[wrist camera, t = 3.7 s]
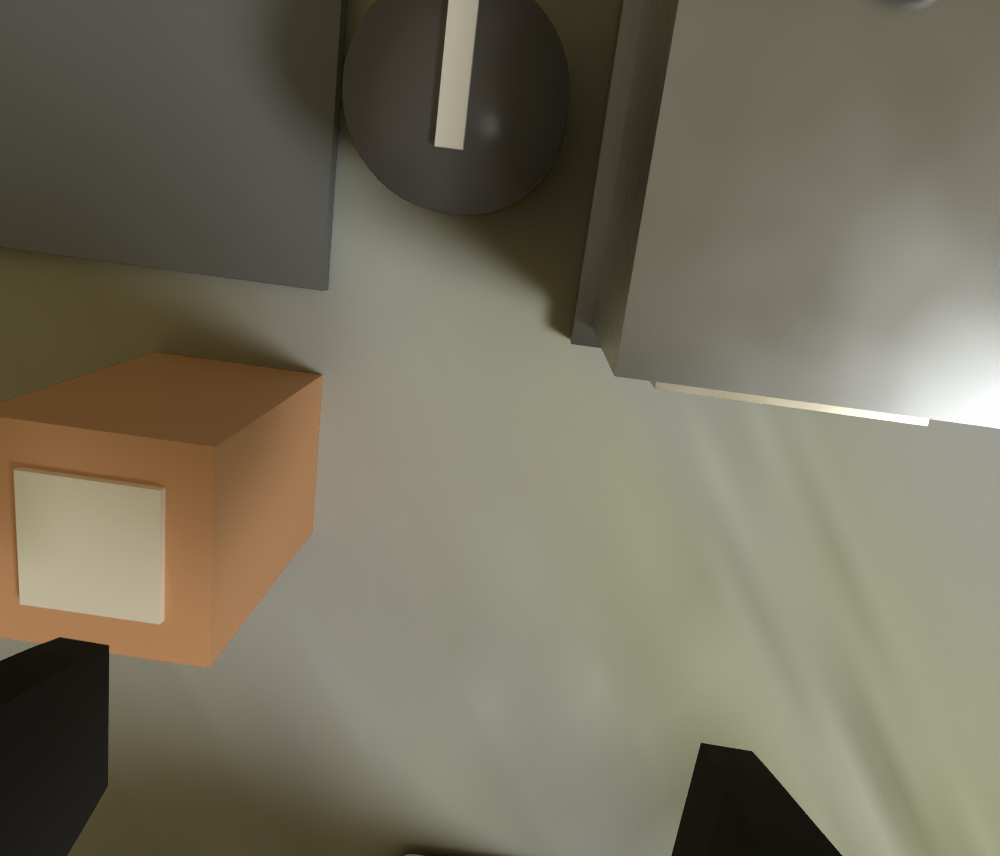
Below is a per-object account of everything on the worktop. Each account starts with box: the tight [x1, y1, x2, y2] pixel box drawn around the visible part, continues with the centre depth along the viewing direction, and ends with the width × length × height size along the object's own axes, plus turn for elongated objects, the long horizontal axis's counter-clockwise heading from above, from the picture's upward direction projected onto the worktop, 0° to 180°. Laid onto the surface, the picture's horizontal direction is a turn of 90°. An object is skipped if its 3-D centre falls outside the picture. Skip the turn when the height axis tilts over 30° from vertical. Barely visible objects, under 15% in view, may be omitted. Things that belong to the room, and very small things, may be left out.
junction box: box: [570, 0, 1000, 428], centre depth 13 cm, size 9×7×7 cm
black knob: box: [342, 0, 570, 215], centre depth 15 cm, size 4×4×3 cm
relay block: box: [0, 352, 323, 668], centre depth 15 cm, size 4×4×6 cm
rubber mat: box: [0, 0, 347, 291], centre depth 16 cm, size 10×10×1 cm
